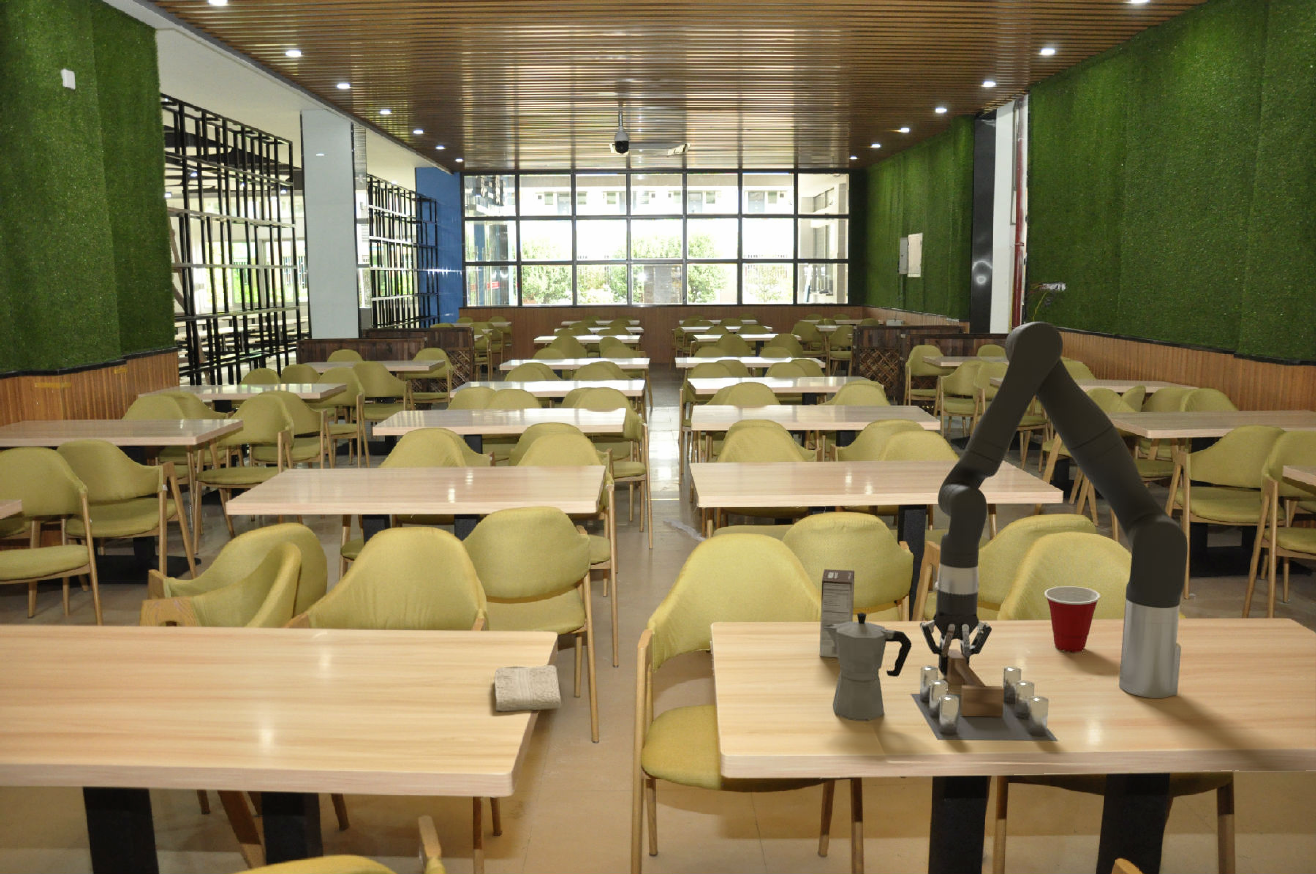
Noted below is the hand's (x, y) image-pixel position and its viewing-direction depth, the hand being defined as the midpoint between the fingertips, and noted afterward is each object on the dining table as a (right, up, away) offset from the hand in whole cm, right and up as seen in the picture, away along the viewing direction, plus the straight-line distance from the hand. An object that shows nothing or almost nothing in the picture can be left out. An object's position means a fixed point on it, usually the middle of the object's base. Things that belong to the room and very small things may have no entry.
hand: (953, 673), depth 208 cm
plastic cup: (+29, +1, +19) cm, 35 cm away
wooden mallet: (0, -2, -8) cm, 8 cm away
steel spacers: (0, -4, -18) cm, 18 cm away
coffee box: (-20, +1, +16) cm, 25 cm away
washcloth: (-81, -2, -8) cm, 81 cm away
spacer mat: (0, -4, -18) cm, 18 cm away
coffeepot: (-20, -4, -16) cm, 26 cm away
